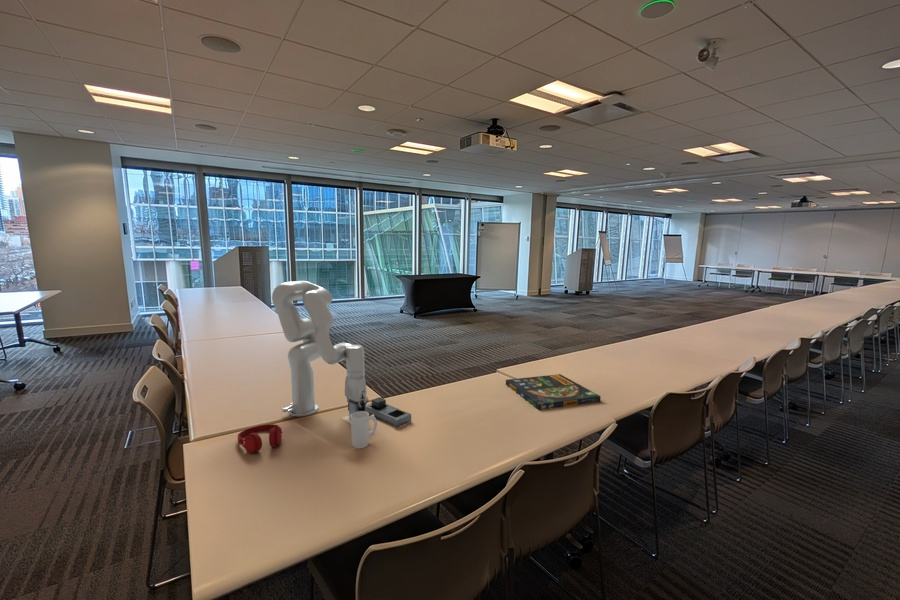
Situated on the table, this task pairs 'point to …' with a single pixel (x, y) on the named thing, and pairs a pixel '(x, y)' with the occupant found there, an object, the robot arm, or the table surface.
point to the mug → (361, 428)
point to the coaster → (346, 419)
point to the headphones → (254, 440)
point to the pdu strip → (388, 413)
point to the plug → (353, 407)
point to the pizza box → (552, 391)
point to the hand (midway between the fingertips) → (356, 412)
